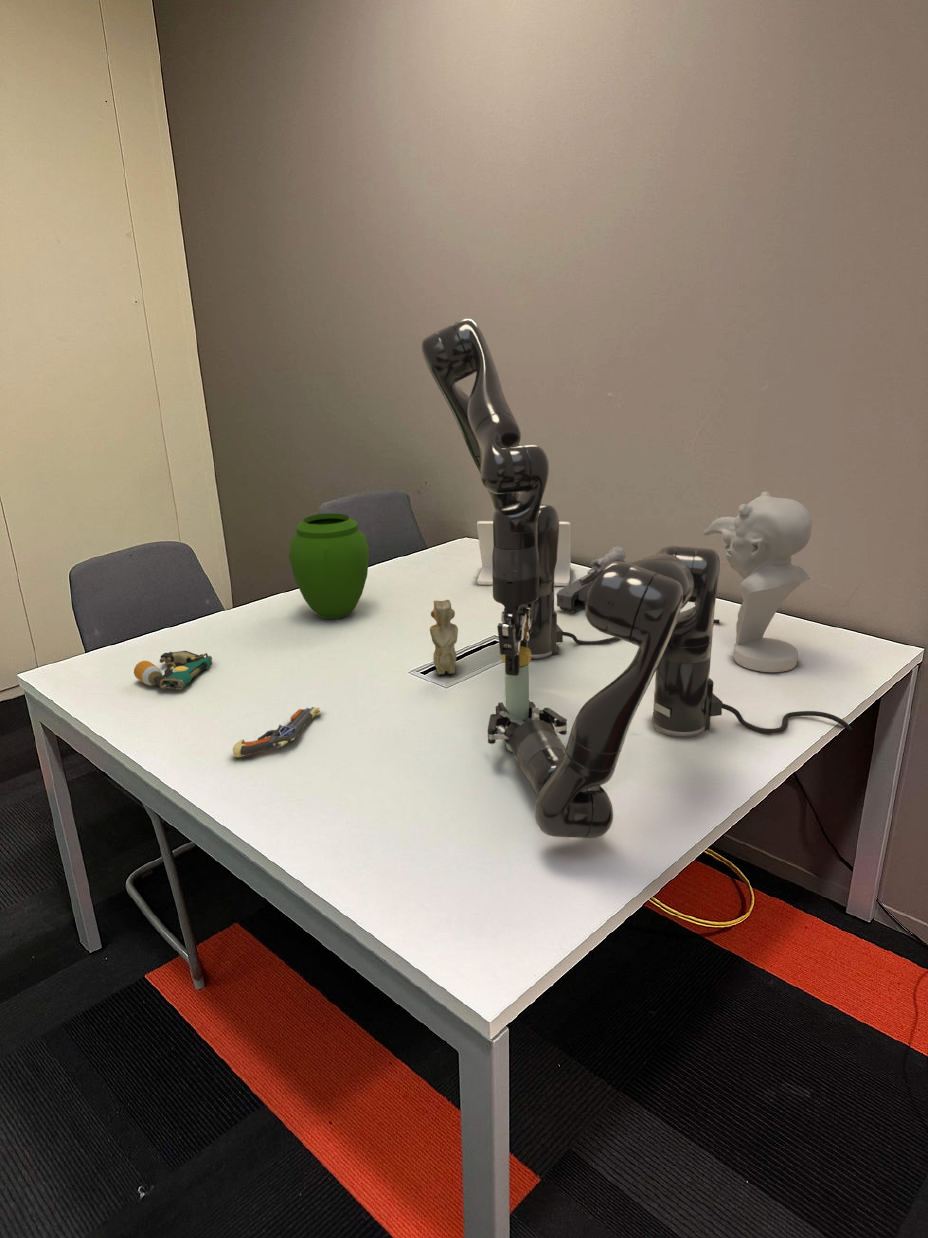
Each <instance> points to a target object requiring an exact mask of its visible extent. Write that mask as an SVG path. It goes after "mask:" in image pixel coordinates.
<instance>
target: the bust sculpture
mask: <svg viewBox="0 0 928 1238" xmlns="http://www.w3.org/2000/svg"><path fill="white" fill-rule="evenodd" d="M812 530H813V522H812V516H811V515H810V512H809V511H808V509H807V508H806V507H805V506H804V505H803V504H802V503H800V502H799V501H797V500H795V499H791V498H783V497H774V496H771V494H770V492H769V491H762V492H761V494H760V496H757V497H756V498H754V499H753V500H751V501H749V502H748V504H746V503H742V504H740V505H739V507H738V511H737V516H736V517H732V516H723V517H720V518H716V519H715V520H713V522H711V523H710V525H709V526H708V527H707V528H706V529H705V530H704V531H703V534H702V535H703V536H710V535H714V534H721V535H722V540H723V542H724V543H725V544H726V545H725V546H724V548H723V552H724V554H725V557H726V560H727V561H728V563H729V565H730V568H731V569H732V570H734V572H736V573H737V574H738V575H739V576H741V577H742V578H743V580H742V581H741V583H740V585H739V591H740V593H741V597H742V599H743V600H742V602H741V604H740V607H739V610H738V613H737V621H736V625H735V633H736V634H735V643H734V645H733V653H732V654H733V655H732V658H733V661H734V662H735V663H736V664H738V665H739V666H741V667H743V668H745V669H749V670H751V671H756V672H761V673H782V672H786V671H791V670H793V669H794V668H795V667H796V666H797V664H798V663H797V662H798V656H799V650H798V649H797V647H796V646H794V645H793V644H792V643H789V642H787V641H784V640H782V639H781V640H780V639H777V638H776V639H775V638H770V637H764V635H765V633H766V631H767V629H768V627H769V625H770V623H771V621H772V619H773V618H774V616H775V614H776V612H778V610H779V609H780V607H781V606H782V605H783V603H784V601H786V599H787V598H788V597H789V595H791V594H792V593H793V592H794V590H796V589H797V588H798V587H799V586H801V585H802V584H803V583H805V582H807V581H808V580H811V577H810V575H809V574H808V573H807V571H806V570H805V569H804V568H802V567H801V566H800V565H795V564H792V556H793V555H796V554H799V552H801V551H802V550H804V548H805V547H806V546H807V545H808V544H809V542H810V538H811V535H812Z"/></svg>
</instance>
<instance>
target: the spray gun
mask: <svg viewBox="0 0 928 1238" xmlns="http://www.w3.org/2000/svg"><path fill="white" fill-rule="evenodd" d="M212 660H213V657H212V656H211V655H208V653H207V652H205V653H201V654H197V653H194V652H192V651H191V652H190V651H188V650H180V651H169V652H164V653H162V654H161V655H160V658H159V660H158V662H159V663H161V664H163V663H165V664H166V668H165V670H163V672H164V674H163V673H162V669H160V668H159V666H157V665H156V664H154V663H152V662H151V661H149V660H141V661H139V662H138V663H136V665H135V666H134V668H133V675H134V677H135V678H136V679H137V680H139V681H140V682H142V683H143V684H145V685H147V686H155V685H157V686H158V687H160V688H161V689H171V690H172V689H173V690H182V689H184V687H185V686H186V685H188V684H189V683H190V682H191V681H192V679H193V678H195V677H196V676H197V675H198V674H200V673H201V672H202V671H203V670H206V669H208V668H209V667H210V666H211V665H212V662H213V661H212ZM178 663H179V664H181V665H179V666H176V665H177V664H178Z"/></svg>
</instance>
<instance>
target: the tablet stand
mask: <svg viewBox="0 0 928 1238" xmlns="http://www.w3.org/2000/svg"><path fill="white" fill-rule="evenodd" d="M476 531H477V537H478V544H479V551H480V557H481V558H480V559H481V570H480V573H479V575H478V577H477V580H476V581H477V582H476V584H478V585H484V586H485V585H486V586H487V585H489V586H490V585H491V586H493V578H492V554H493V520H477V522H476ZM571 560H572V558H571V522H569V521H559V539H558V556H557V563H556V567H555V572H554V587H556V586H557V587H566V586H567V585H569V584H570V580H571V579H570V578H571V565H572V564H571Z"/></svg>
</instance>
